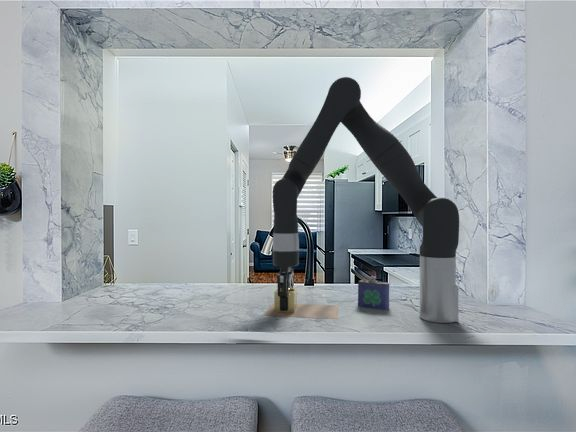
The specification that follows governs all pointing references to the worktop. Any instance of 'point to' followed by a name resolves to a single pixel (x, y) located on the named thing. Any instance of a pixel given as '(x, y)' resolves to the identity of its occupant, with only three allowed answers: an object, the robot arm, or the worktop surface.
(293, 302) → the cap
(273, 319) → the worktop surface
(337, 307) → the bolt base
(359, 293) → the clover print carton
